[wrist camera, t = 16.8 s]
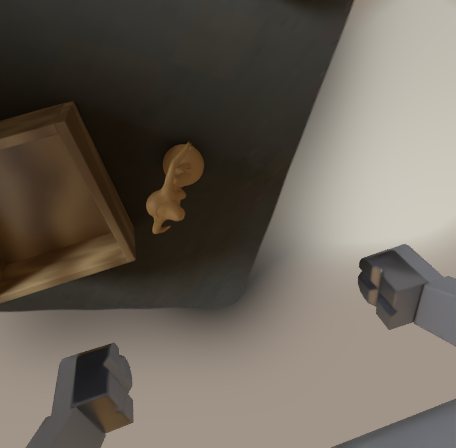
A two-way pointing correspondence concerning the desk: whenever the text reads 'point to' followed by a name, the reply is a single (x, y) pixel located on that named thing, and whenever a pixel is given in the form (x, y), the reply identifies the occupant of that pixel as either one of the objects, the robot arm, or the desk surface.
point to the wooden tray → (56, 204)
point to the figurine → (174, 184)
